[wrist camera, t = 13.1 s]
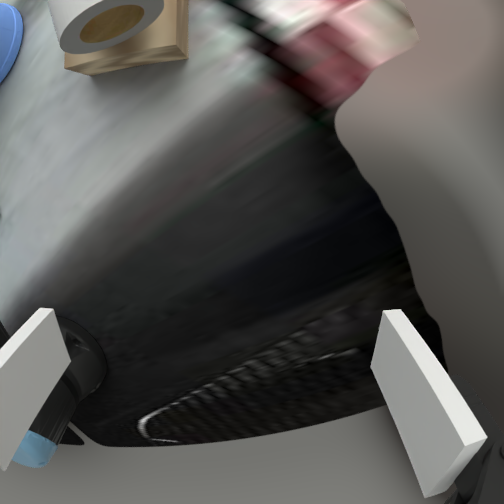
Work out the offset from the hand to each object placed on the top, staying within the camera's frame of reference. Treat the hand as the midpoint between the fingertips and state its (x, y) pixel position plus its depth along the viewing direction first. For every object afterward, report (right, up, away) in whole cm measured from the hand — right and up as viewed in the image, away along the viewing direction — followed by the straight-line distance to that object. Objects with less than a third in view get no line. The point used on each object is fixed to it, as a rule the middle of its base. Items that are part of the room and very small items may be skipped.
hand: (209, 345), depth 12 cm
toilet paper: (-13, +30, +13) cm, 35 cm away
